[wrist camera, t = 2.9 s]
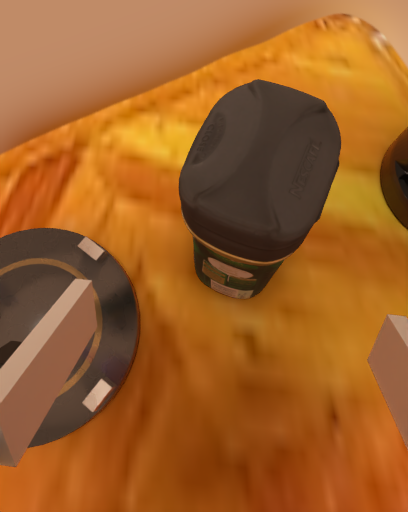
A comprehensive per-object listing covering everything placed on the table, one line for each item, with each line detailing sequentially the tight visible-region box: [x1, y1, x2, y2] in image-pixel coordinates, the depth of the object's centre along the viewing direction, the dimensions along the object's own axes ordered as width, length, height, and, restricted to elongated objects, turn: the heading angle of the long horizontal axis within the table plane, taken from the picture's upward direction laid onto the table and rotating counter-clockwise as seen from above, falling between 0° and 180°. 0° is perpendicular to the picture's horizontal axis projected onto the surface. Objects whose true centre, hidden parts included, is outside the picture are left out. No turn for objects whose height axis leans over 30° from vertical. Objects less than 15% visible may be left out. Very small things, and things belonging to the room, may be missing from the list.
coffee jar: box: [179, 79, 341, 299], centre depth 24 cm, size 10×8×19 cm
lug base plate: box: [0, 228, 140, 448], centre depth 30 cm, size 20×20×3 cm
